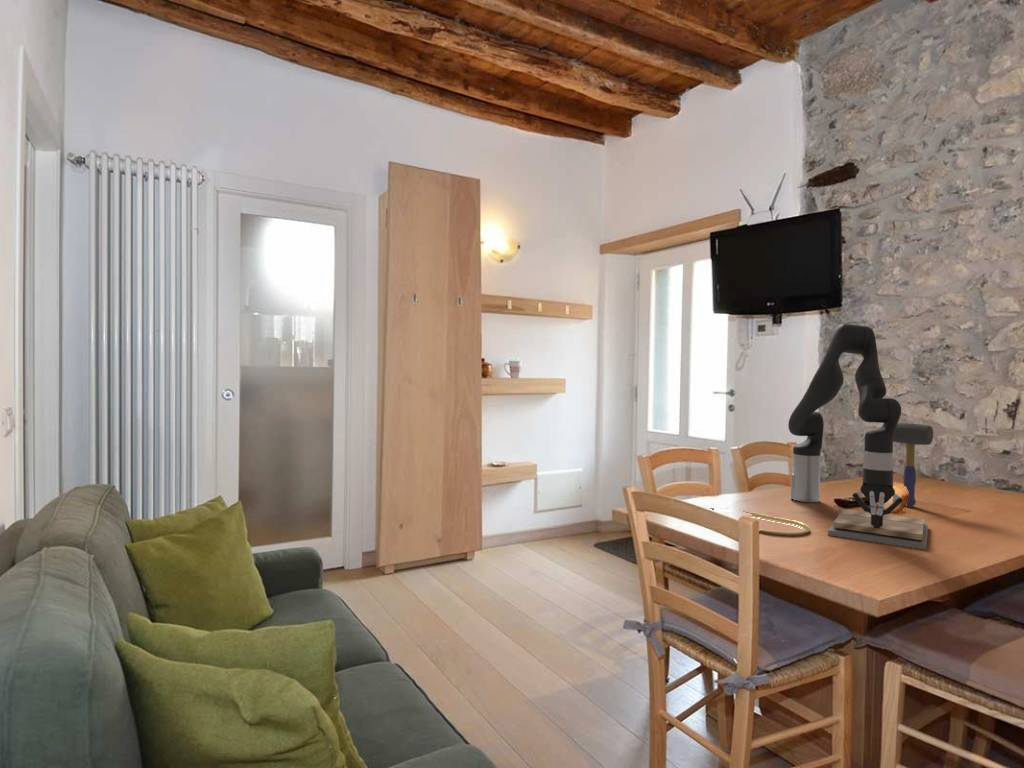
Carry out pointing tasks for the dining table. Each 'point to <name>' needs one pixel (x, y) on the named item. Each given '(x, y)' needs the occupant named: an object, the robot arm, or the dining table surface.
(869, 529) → the near plank
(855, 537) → the panel
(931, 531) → the dining table surface
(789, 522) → the serving platter
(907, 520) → the far plank
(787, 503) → the dining table surface
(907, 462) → the rubber mallet
